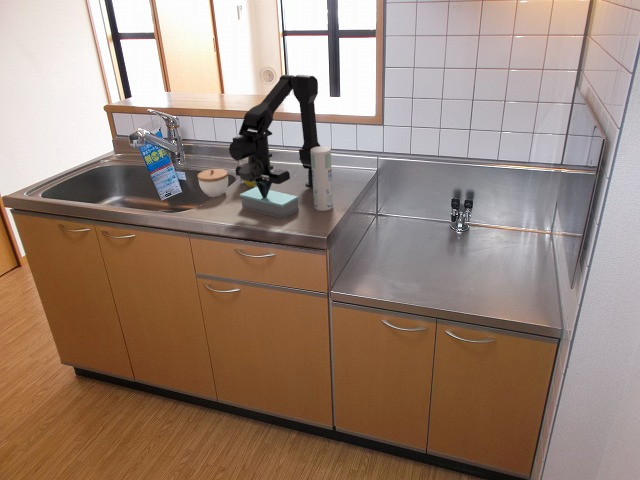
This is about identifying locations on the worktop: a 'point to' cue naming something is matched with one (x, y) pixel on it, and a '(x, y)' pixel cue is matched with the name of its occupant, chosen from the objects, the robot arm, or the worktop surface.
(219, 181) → the lidded jar
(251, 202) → the grey rectangular box
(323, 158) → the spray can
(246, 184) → the lemon
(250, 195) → the lid
